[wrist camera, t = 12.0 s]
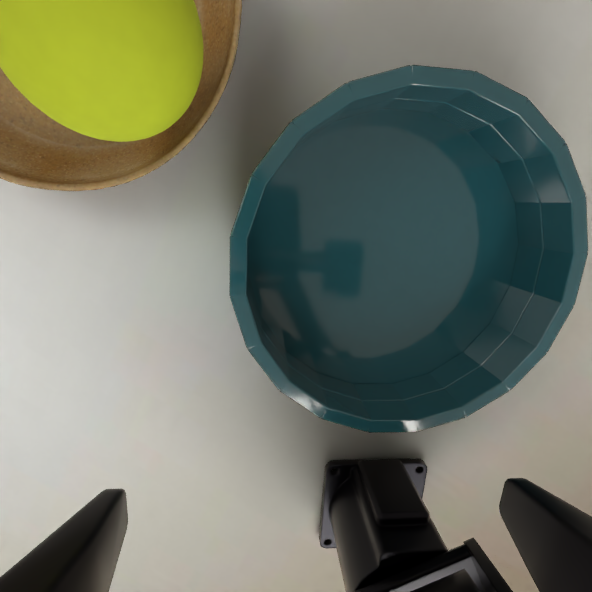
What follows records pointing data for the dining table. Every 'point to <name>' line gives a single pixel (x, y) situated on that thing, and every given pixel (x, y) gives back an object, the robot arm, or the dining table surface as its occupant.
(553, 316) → the glazed bowl
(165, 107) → the ball
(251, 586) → the dining table surface
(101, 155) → the plant saucer
